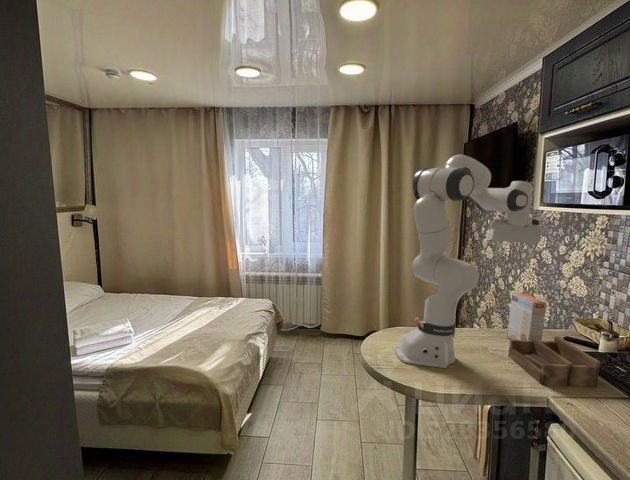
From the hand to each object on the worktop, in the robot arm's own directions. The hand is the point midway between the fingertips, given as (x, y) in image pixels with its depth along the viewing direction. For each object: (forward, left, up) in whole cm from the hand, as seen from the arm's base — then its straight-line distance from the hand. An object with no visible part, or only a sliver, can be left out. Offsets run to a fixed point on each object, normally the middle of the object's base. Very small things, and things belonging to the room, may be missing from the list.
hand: (512, 252), depth 147 cm
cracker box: (+6, -5, -39) cm, 40 cm away
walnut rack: (+1, -29, -39) cm, 49 cm away
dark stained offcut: (-4, -29, -36) cm, 46 cm away
